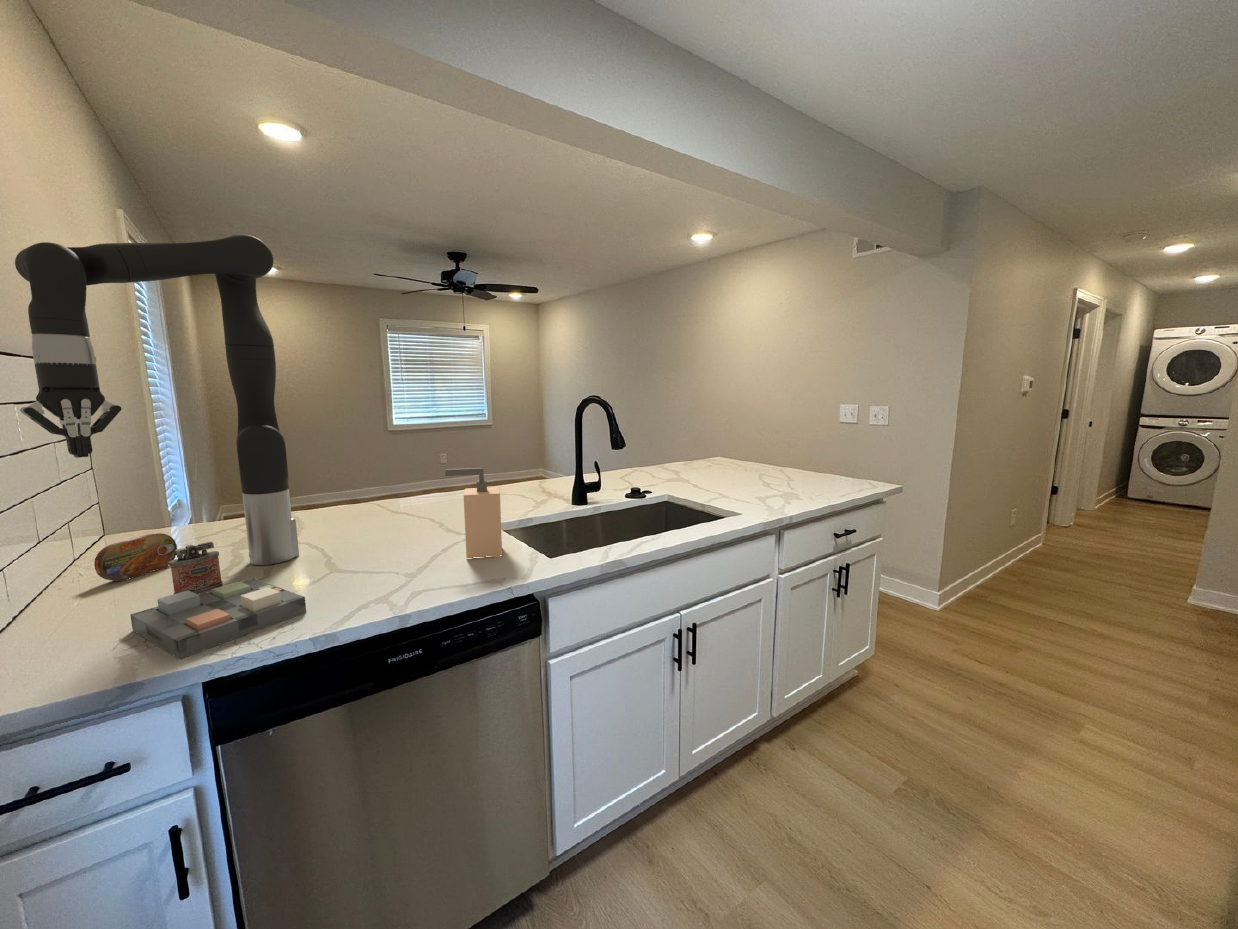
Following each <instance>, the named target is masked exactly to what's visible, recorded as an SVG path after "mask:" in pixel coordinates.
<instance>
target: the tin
mask: <svg viewBox="0 0 1238 929" xmlns="http://www.w3.org/2000/svg"><path fill="white" fill-rule="evenodd" d="M177 549H178V546H177V542H176V540H175V539H174V538H173V536H171V535H169V534H166V533H161V532H160V533H151V534H150V533H149V534H145V535H141V536H139V537H135V538H130V539H126V540H122V541H119V542H116V543H112V544H109V545H107V546H104V547H103V548H102V549H101V550H99V552H98V553H97V554H96V556H95V558H94V561H93V562H94V565H93V566H94V569H95V573H96V574H97V575H98V576H99V577H101V578H102V579H103V580H107V581H112V582H114V581H116V582H124V581H123V580H125V581H127V580H126V579H129V578H132V577H135V578H137V577H141V576H143V575H142V574H144V575H146V574H145V573H147V574H149V573H148V572H150V571H153V570H156V571H159V570H162V569H164V568H166V567H168V566H169V561H172V560H175V558H176V557H177V555H176V552H175V550H177ZM161 568H162V569H161ZM153 572H154V571H153ZM150 573H151V572H150ZM140 575H141V576H140ZM132 579H133V578H132ZM129 580H130V579H129Z"/></svg>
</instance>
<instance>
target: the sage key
mask: <svg viewBox="0 0 1238 929" xmlns="http://www.w3.org/2000/svg"><path fill="white" fill-rule="evenodd" d="M242 582H243V581H236V582H232V583H228V584H226V585H223V586H221V587H218V588H215V589H212V591H213V595H214V596H216V597H219V598H221V599H225V598H228V597H231V596H235V595H238V594H241V593H244V592H248V591H251V588H250V586H249V585H247V584H244V583H242Z"/></svg>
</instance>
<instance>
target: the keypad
mask: <svg viewBox="0 0 1238 929" xmlns="http://www.w3.org/2000/svg"><path fill="white" fill-rule="evenodd" d="M241 582H242V583H244V584H247V585H249V586H250V588H251V591H248V592H244V593H241V594H238V595H235V596H231V597H228V598H225V599H221V598H219V597H216V596H214V595H213V591H208V592H205V593H202V594H198V595H199V598H200V605H201V606H199V607H196V608H192V609H189V610H186V611H182V612H179V613H176V614H173V615H169V616H166V615H164V614H163V613H161V612H159V607H158V606H155V607H152V608H148V609H145V610H141V611H138V612H134V613H130V622H131V628H132V631H133V632H134V633H136V632H137V633H138V635H139V636H141V637H143V638H144V639H146V640H147V641H149V642H151V643H152V644H154V645H156V646H157V647H159V648H161V649H162V650H163V651H166V652H167V651H168V652H167V653H169V654H171V655H172V656H174V657H176V658H177V659H179V660H181V659H184V658H187V657H189V656H192V655H195V654H197V653H201V652H204V651H205V650H208V649H211V648H214V647H216V646H220V645H221V644H225V643H228V642H230V641H232V640H234V639H238V638H240V637H243V636H245V635H249V634H252V633H254V632H257V631H259V630H262V629H265V628H267V627H271V626H273V625H275V624H278V623H281V622H283V621H286V620H289V619H292V618H295V617H297V616H299V615H301V614H302V613H303V614H305V613H307V605H306V597H305V596H303V595H301V594H297V593H295V592H292V591H290V590H286V589H284V588H282V587H278V586H276V585H273V584H270V583H267V582H265V581H262V580H259V579H257V578H250V579H248V580H244V581H241ZM266 587H269V588H271V589H274V590H277V591H279V592H280V594H281V603H278V604H275V605H273V606H270V607H267V608H264V609H261V610H258V611H255V612H251V611H249V610H247V609H244V608H242V603H241V595H244V594H247V593H250V592H253V591H257V590H260V589H263V588H266ZM215 609H219V610H221V611H224V612H226V613H228V614H230V620H229V621H226V622H223V623H220V624H217V625H214V626H211V627H208V628H205V629H202V630H199V631H195V630H193V629H191V628H189V627H187V623H186V619H187V618H190V617H193V616H196V615H199V614H202V613H206V612H209V611H212V610H215ZM303 614H302V615H303ZM137 633H136V634H137Z"/></svg>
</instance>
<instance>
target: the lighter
mask: <svg viewBox="0 0 1238 929" xmlns="http://www.w3.org/2000/svg"><path fill="white" fill-rule="evenodd" d="M214 547H215V546H214V542H213V541H206V542H202V543H198V544H197V545H194V544H187V545H185V547H182V548H177V550H175V552H176V557H177V558H176V559H175V558H174V560H172V561H169V565H168V566H169V567H170V571H171V577H172V584H173V591H174V592H173V594H177V593H180V592H184V591H187V590H189V591H191V592H193V593H195V594H198V595H199V594H202V593H206V592H209V591H212V589H215V588H218V587H221V586H224V584H223V582H224V581H223V580H222V576H221V567H220V559H219V557H220V552H219V551H217V550H214V551H213V550H212V551H207V550H209V549H213V548H214ZM200 552H201V553H200ZM173 594H172V595H173Z"/></svg>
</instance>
